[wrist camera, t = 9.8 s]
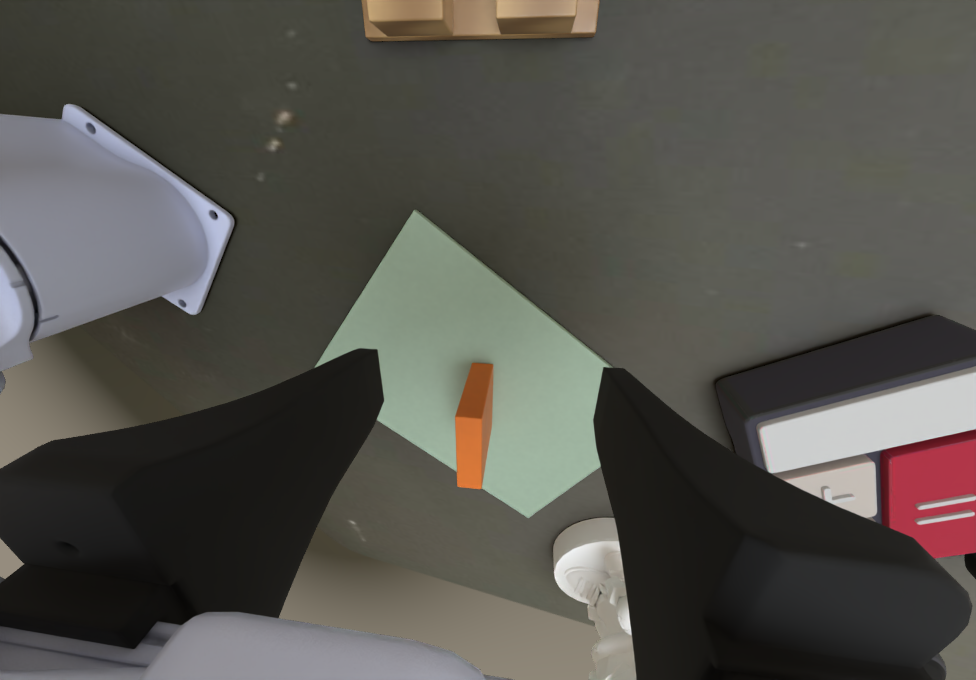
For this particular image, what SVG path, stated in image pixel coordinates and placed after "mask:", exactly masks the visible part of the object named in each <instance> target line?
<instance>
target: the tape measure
mask: <svg viewBox="0 0 976 680" xmlns="http://www.w3.org/2000/svg"><path fill="white" fill-rule="evenodd" d="M964 558H965V565H966V568H967V570H968V571H969V572H970V573H971V574H972V576H973V577H974V578H975V579H976V553H969V554H965V557H964Z"/></svg>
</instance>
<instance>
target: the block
mask: <svg viewBox="0 0 976 680" xmlns="http://www.w3.org/2000/svg"><path fill="white" fill-rule="evenodd" d="M493 366H494V365H493V364H484V363H472V364H471V368H470V371H469V374H468V377H467V380H466V383H465V387H464V390H463V393H462V396H461V399H460V402H459V406H458V409H457V412H456V415H455V433H456V462H457V486H458V487H465V488H474V489H481V488H482V484H483V478H484V472H485V465H486V459H487V453H488V447H489V441H490V435H491V429H492V408H493Z"/></svg>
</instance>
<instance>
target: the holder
mask: <svg viewBox="0 0 976 680" xmlns="http://www.w3.org/2000/svg"><path fill="white" fill-rule="evenodd" d="M599 2H600V0H362V8H363V17H364V26H365V35H366V38H367V39H369V40H370V41H416V40H470V39H523V38H576V37H594V35H595V33H596V27H597V19H598V10H599Z"/></svg>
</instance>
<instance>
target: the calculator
mask: <svg viewBox="0 0 976 680" xmlns="http://www.w3.org/2000/svg"><path fill="white" fill-rule="evenodd" d="M716 390H717V394H718V398H719V401H720V405H721V409H722V413H723V416H724V420H725V423H726V426H727V429H728V431H729V433H730V436H731V438H732V440H733V443H734V447H735V451H736V454H737V455H738V456H740V457H742V458H744V459H745V460H747V461H749V462H751V463H752V464H754V465H756V466H758V467H760V468H761V469H763V470H765V471H767V472H769V473H771V474H772V475H774V476H776V477H778V478H780V479H782V480H784V481H786V482H788V483H790V484H792V485H794V486H796V487H798V488H800V489H802V490H804V491H806V492H808V493H810V494H813V495H815V496H817V497H819V498H821V499H823V500H825V501H827V502H830V503H832V504H834V505H836V506H838V507H841V508H843V509H845V510H848V511H850V512H853V513H855V514H857V515H860V516H862V517H865V518H867V519H869V520H872V521H874V522H877V523H879V524H882V525H884V526H886V527H889V528H891V529H894V530H896V531H898V532H901V533H903V534H906V535H908V536H911V537H913V538H914V539H915V540H916V541H917V542H918V543H919V544H920V545H921V546H922V547H923V548H924V549H925V550H926V551H927V552H928V553H929V554H930V555H931V556H932V557H933V558H940V557H947V556H955V555H962V554H969V553H976V330H974V329H971V328H969V327H966V326H964V325H962V324H959V323H957V322H955V321H952V320H950V319H947V318H945V317H943V316H940V315H934V316H929V317H926V318H922V319H919V320H916V321H912V322H909V323H906V324H902V325H899V326H896V327H892V328H889V329H886V330H883V331H879V332H876V333H873V334H869V335H866V336H863V337H859V338H856V339H853V340H849V341H846V342H843V343H839V344H836V345H833V346H829V347H826V348H823V349H819V350H816V351H813V352H809V353H806V354H803V355H799V356H796V357H793V358H789V359H786V360H783V361H779V362H776V363H773V364H769V365H766V366H763V367H759V368H756V369H753V370H749V371H746V372H743V373H739V374H736V375H733V376H729V377H726V378H723V379H721V380H719V381H718V382H717V383H716Z"/></svg>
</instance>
